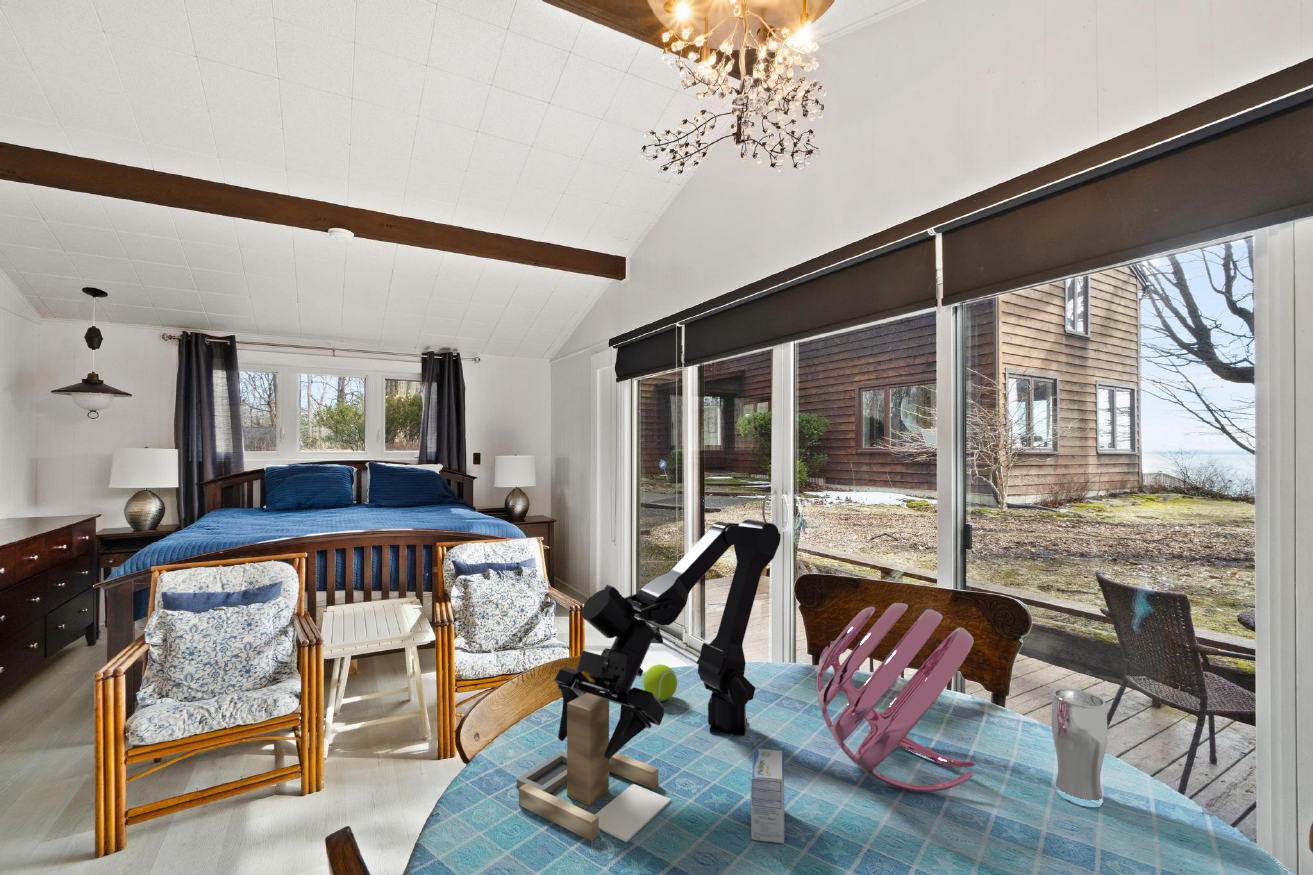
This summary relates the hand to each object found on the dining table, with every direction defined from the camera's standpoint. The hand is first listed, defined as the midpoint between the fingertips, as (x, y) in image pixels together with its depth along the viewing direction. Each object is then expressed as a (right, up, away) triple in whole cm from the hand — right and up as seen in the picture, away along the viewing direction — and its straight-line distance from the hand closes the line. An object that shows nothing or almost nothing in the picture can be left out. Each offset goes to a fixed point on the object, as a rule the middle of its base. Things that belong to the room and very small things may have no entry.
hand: (582, 748), depth 90 cm
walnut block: (+1, -7, +1) cm, 7 cm away
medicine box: (+27, -8, -6) cm, 29 cm away
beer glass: (+75, -8, +1) cm, 76 cm away
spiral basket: (+51, -8, +9) cm, 52 cm away
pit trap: (-5, -7, +5) cm, 10 cm away
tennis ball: (+12, -8, +34) cm, 37 cm away
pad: (+7, -7, -4) cm, 11 cm away
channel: (+1, -7, +1) cm, 7 cm away
